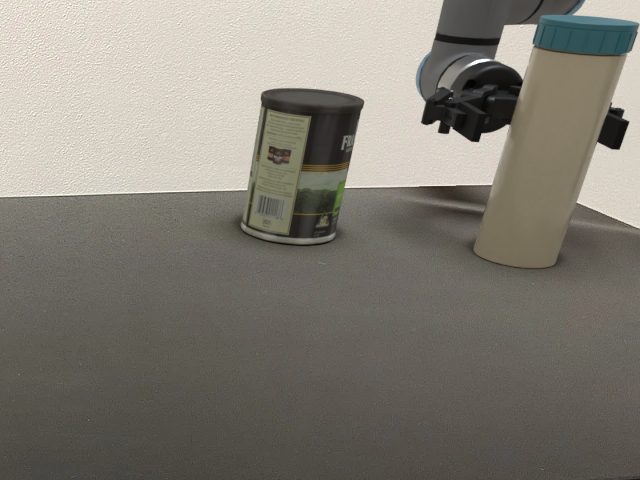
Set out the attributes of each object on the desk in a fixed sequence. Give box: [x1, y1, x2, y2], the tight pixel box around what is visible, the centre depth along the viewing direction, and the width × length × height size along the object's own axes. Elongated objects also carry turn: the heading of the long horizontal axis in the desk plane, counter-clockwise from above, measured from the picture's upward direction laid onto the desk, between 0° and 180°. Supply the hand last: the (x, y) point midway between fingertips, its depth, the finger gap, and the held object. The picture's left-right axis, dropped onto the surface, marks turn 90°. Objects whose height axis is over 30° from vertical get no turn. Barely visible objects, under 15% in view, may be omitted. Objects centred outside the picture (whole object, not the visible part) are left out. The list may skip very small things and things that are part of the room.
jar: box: [472, 45, 628, 269], centre depth 96 cm, size 8×8×22 cm
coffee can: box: [240, 87, 365, 246], centre depth 103 cm, size 10×10×14 cm
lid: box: [532, 14, 640, 54], centre depth 90 cm, size 8×8×2 cm
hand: (549, 131), depth 96 cm, fingers open, 13 cm apart
